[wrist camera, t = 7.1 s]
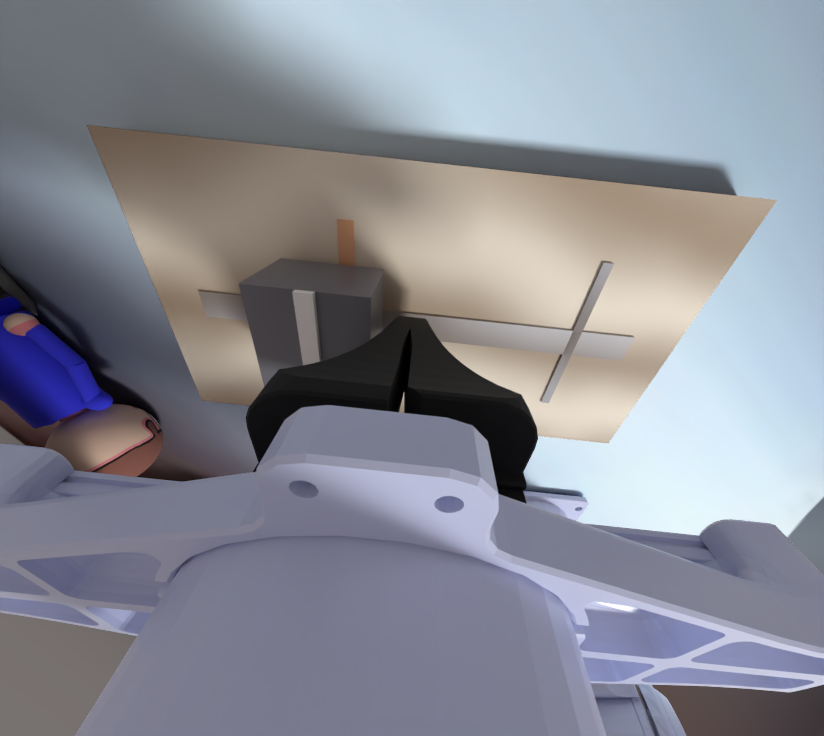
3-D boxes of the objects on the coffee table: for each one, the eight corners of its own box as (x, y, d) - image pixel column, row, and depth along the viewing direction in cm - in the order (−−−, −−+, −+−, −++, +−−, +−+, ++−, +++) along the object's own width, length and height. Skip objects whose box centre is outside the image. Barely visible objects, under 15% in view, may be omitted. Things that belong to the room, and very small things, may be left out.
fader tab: (380, 374, 14) (369, 421, 11) (298, 365, 14) (267, 410, 11) (384, 269, 11) (369, 300, 9) (280, 257, 11) (234, 285, 9)
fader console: (595, 424, 18) (609, 444, 16) (218, 384, 18) (200, 401, 16) (738, 196, 11) (780, 200, 10) (125, 130, 11) (83, 124, 10)
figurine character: (-72, 245, 15) (134, 454, 22) (-468, 272, 9) (-3, 562, 15) (10, 197, 14) (206, 437, 20) (-396, 185, 7) (88, 549, 14)
